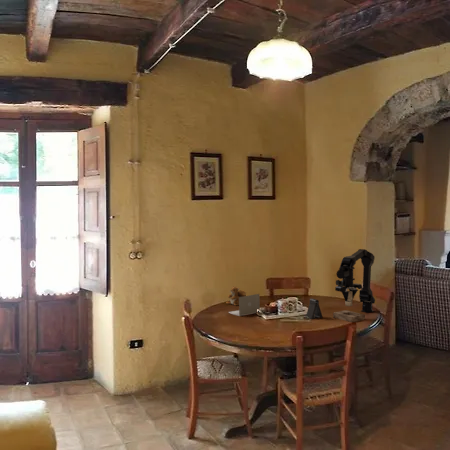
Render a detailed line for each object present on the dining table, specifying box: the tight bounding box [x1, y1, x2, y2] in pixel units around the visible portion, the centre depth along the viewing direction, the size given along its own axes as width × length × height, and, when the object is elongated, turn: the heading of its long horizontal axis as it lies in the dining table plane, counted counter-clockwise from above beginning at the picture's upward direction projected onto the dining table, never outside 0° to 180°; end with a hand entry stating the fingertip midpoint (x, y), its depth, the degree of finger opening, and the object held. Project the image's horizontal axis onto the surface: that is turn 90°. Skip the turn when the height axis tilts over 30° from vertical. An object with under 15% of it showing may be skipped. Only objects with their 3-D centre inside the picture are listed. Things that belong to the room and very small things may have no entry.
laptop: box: [228, 293, 261, 317], centre depth 337 cm, size 18×12×13 cm
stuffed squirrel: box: [226, 286, 247, 306], centre depth 366 cm, size 10×14×13 cm
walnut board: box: [332, 310, 366, 323], centre depth 316 cm, size 12×16×3 cm
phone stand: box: [306, 298, 323, 320], centre depth 320 cm, size 9×6×12 cm, turn 117°
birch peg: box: [344, 290, 353, 307], centre depth 315 cm, size 4×4×9 cm
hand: (348, 300), depth 315 cm, fingers closed on birch peg, 4 cm apart
